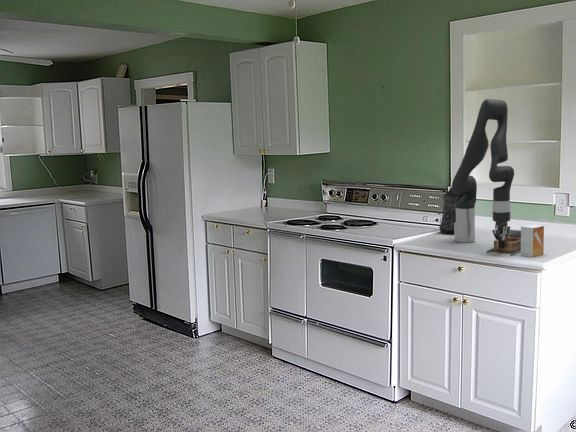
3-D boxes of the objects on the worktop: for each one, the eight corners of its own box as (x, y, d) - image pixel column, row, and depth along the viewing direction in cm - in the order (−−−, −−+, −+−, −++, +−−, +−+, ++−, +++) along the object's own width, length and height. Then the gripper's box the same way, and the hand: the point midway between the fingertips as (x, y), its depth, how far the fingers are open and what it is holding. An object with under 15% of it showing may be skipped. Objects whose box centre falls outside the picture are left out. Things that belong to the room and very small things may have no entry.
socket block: (493, 251, 272) (493, 240, 271) (505, 247, 280) (505, 236, 279) (514, 253, 265) (514, 242, 264) (525, 249, 273) (526, 238, 272)
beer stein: (450, 228, 337) (449, 185, 334) (481, 232, 323) (480, 186, 319) (433, 233, 326) (432, 188, 323) (464, 236, 312) (463, 189, 308)
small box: (533, 257, 256) (533, 227, 255) (520, 255, 262) (520, 226, 260) (544, 254, 261) (544, 225, 259) (531, 252, 266) (531, 224, 264)
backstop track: (484, 253, 270) (484, 235, 269) (505, 245, 284) (505, 229, 283) (514, 256, 260) (514, 238, 259) (534, 248, 274) (534, 231, 273)
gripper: (500, 208, 271) (500, 245, 274) (486, 211, 262) (486, 249, 265) (516, 209, 266) (516, 246, 268) (502, 213, 257) (502, 251, 259)
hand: (501, 248), depth 267 cm, fingers closed
